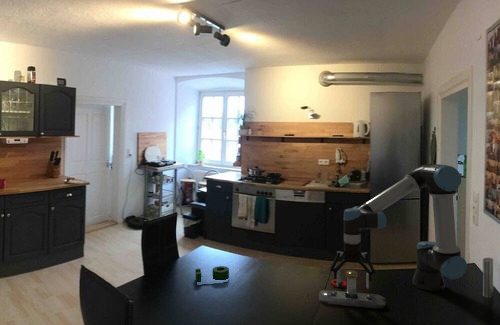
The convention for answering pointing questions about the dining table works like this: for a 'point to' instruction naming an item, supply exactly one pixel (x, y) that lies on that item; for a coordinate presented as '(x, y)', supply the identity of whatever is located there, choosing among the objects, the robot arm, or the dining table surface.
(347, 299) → the grey rounded bar
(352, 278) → the link pin
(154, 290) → the dining table surface
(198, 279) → the slotted cylinder bracket
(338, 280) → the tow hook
